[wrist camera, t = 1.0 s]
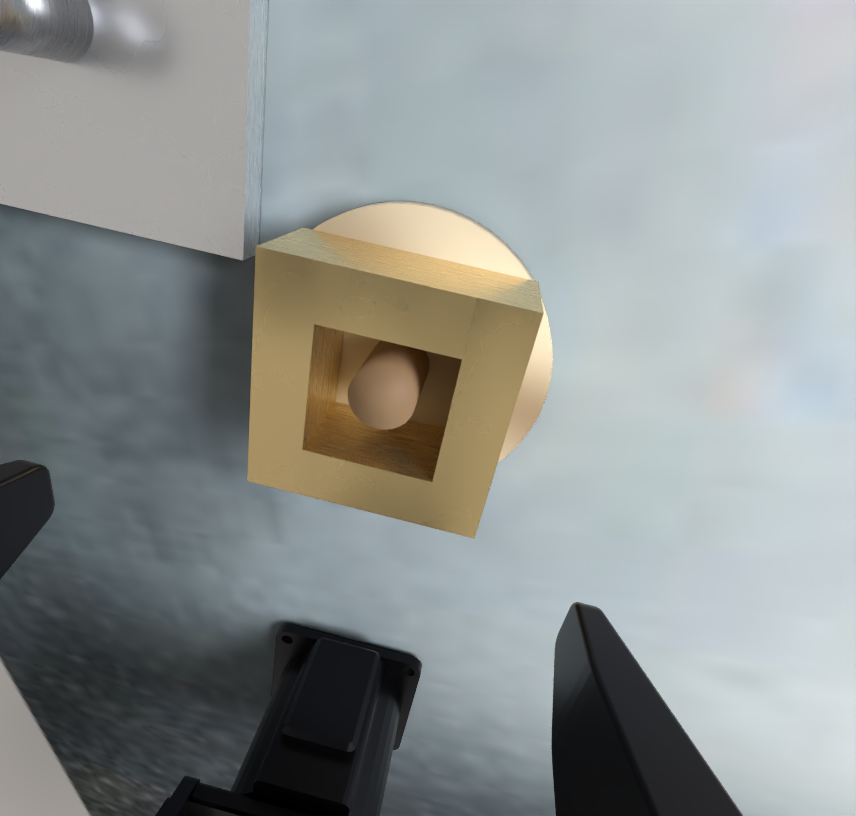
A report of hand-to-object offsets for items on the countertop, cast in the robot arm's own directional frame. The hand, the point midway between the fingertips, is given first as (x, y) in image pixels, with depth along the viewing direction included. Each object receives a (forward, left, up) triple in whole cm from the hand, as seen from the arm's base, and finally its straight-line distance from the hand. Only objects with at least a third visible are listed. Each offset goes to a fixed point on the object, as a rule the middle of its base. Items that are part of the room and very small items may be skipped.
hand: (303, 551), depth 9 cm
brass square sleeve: (0, 0, -8) cm, 8 cm away
